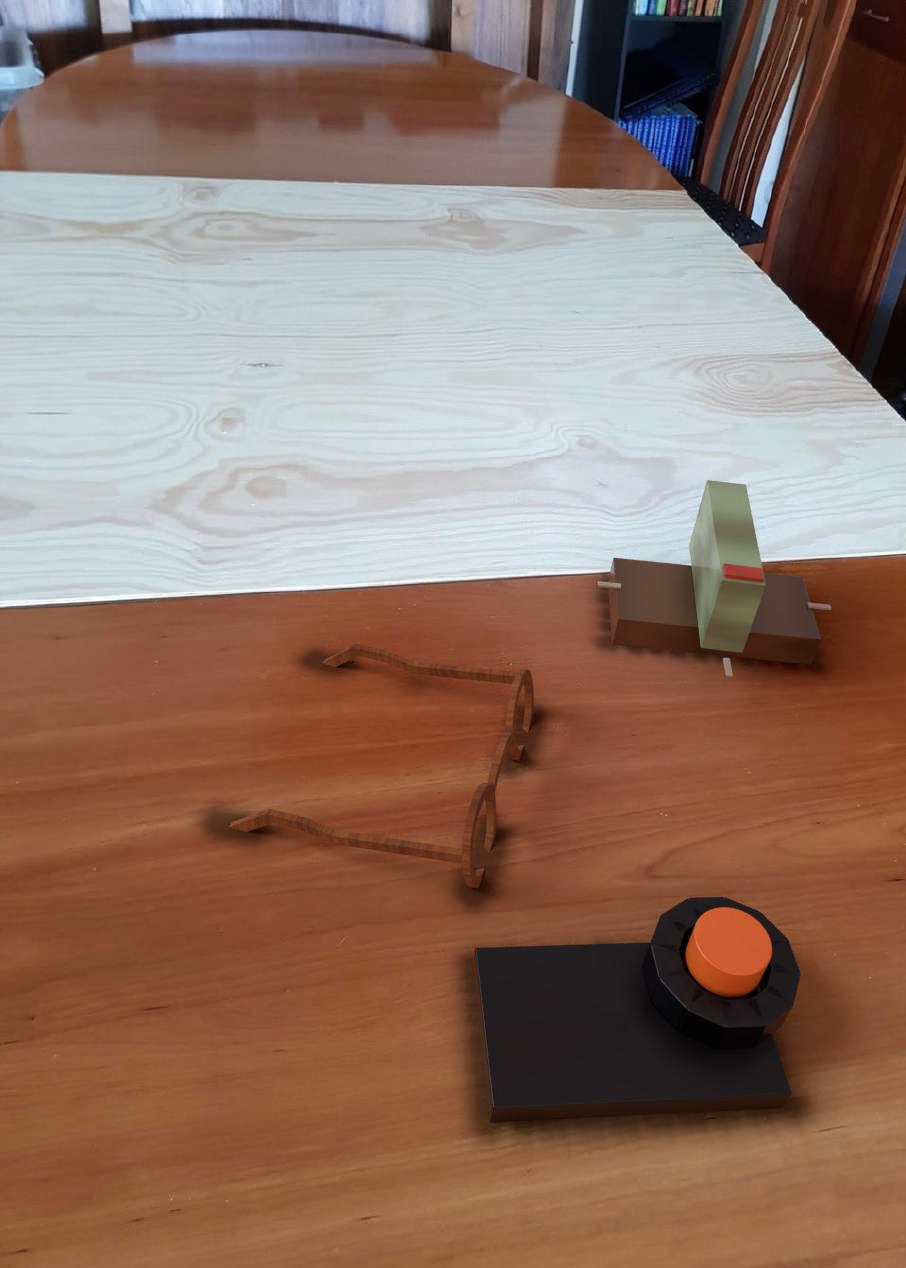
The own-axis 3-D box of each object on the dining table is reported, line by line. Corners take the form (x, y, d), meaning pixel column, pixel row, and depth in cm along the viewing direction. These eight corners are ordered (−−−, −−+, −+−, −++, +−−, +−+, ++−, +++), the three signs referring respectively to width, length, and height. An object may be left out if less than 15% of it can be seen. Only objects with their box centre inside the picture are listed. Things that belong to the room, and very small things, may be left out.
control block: (749, 944, 50) (772, 894, 47) (806, 1117, 44) (836, 1070, 41) (468, 953, 48) (476, 902, 45) (487, 1133, 42) (497, 1086, 39)
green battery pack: (688, 545, 68) (707, 476, 65) (726, 549, 68) (747, 480, 65) (700, 648, 61) (722, 576, 57) (742, 653, 61) (767, 581, 57)
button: (748, 929, 46) (759, 905, 45) (770, 996, 44) (783, 973, 42) (676, 931, 46) (685, 907, 44) (695, 999, 43) (705, 976, 42)
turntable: (795, 575, 72) (809, 537, 70) (838, 726, 61) (856, 687, 59) (586, 554, 72) (594, 515, 70) (593, 702, 61) (602, 661, 59)
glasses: (475, 912, 50) (485, 847, 46) (218, 838, 52) (210, 771, 49) (534, 721, 59) (547, 656, 56) (316, 666, 61) (315, 599, 58)
